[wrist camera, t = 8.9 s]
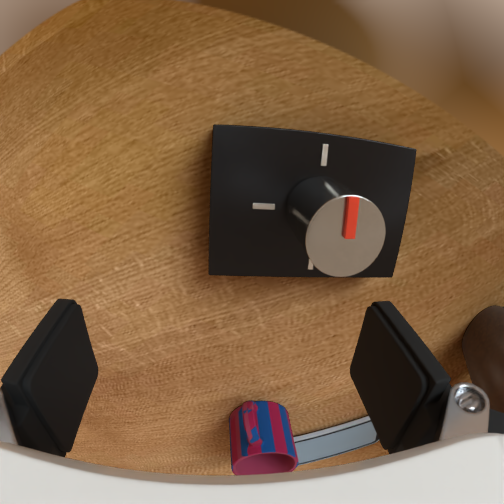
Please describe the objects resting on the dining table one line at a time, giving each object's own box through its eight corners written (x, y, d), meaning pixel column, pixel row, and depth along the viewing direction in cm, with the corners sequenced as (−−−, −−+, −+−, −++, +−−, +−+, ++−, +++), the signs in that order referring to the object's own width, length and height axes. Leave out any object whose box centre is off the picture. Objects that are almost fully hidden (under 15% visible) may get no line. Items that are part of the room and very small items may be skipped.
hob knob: (345, 240, 22) (381, 277, 16) (283, 241, 21) (303, 281, 16) (351, 177, 20) (394, 198, 15) (286, 175, 20) (310, 195, 14)
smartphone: (379, 441, 36) (277, 470, 36) (377, 437, 37) (276, 465, 37) (384, 413, 34) (268, 446, 33) (382, 409, 34) (267, 441, 34)
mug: (233, 437, 34) (236, 483, 27) (219, 383, 30) (219, 438, 23) (288, 429, 34) (298, 475, 28) (285, 375, 30) (298, 427, 24)
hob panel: (210, 257, 25) (208, 276, 22) (214, 124, 21) (213, 124, 18) (376, 262, 26) (393, 278, 23) (396, 145, 22) (418, 149, 19)
